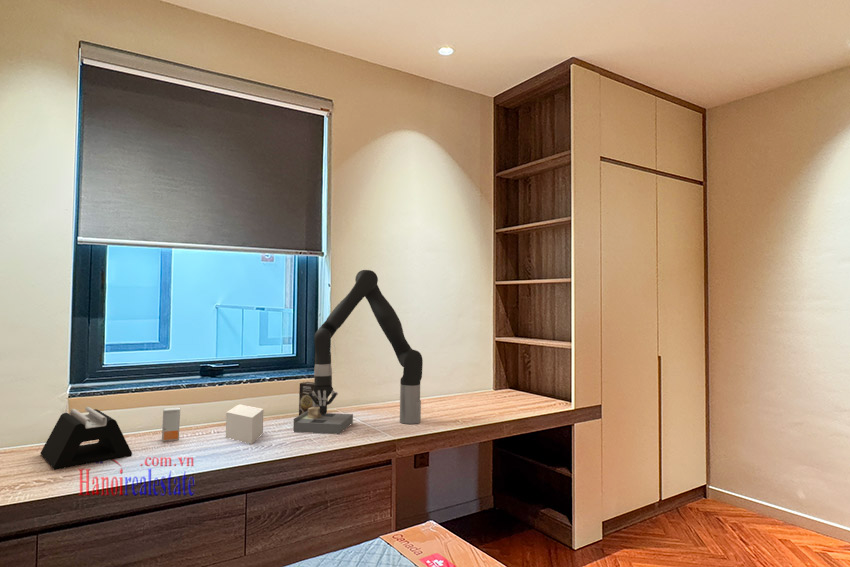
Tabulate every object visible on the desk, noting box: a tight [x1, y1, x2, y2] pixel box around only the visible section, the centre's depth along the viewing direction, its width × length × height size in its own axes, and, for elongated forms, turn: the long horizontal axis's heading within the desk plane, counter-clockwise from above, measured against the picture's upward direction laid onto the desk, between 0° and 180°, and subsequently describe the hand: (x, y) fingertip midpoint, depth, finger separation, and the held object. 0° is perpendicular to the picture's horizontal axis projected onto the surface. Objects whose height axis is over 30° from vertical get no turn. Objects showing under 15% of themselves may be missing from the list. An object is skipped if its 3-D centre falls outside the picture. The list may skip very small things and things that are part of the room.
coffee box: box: [298, 381, 320, 416], centre depth 241 cm, size 9×6×16 cm
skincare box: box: [161, 407, 181, 442], centre depth 199 cm, size 6×4×12 cm
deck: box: [292, 411, 354, 435], centre depth 222 cm, size 20×20×6 cm
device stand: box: [40, 406, 133, 471], centre depth 177 cm, size 22×22×15 cm
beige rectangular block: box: [225, 403, 265, 445], centre depth 206 cm, size 14×29×10 cm, turn 29°
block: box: [308, 407, 321, 419], centre depth 223 cm, size 4×4×4 cm
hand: (323, 414), depth 222 cm, fingers closed
